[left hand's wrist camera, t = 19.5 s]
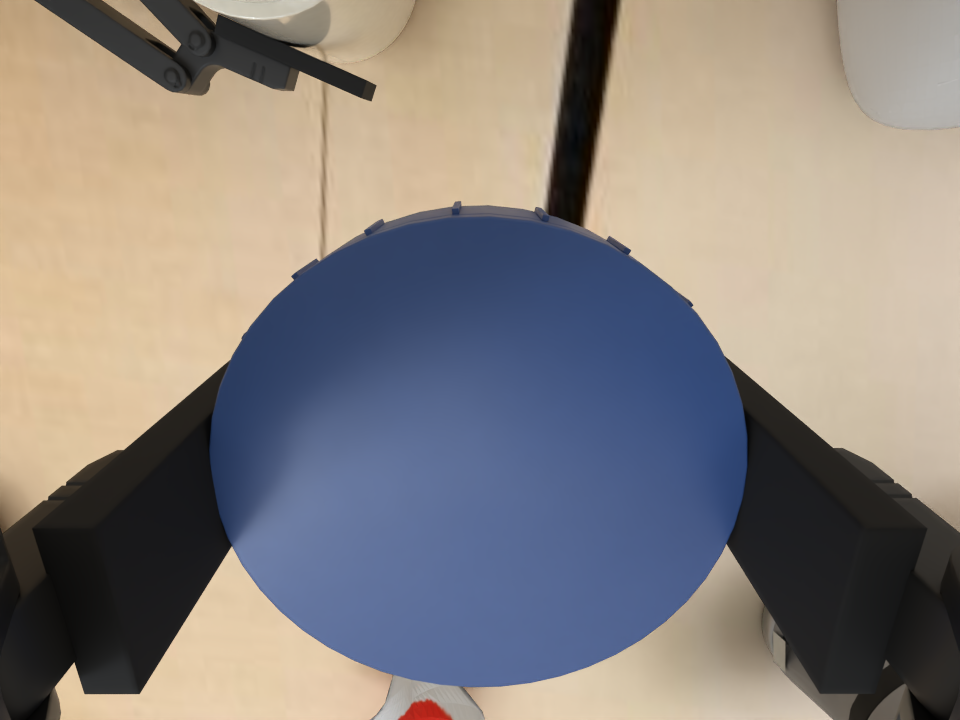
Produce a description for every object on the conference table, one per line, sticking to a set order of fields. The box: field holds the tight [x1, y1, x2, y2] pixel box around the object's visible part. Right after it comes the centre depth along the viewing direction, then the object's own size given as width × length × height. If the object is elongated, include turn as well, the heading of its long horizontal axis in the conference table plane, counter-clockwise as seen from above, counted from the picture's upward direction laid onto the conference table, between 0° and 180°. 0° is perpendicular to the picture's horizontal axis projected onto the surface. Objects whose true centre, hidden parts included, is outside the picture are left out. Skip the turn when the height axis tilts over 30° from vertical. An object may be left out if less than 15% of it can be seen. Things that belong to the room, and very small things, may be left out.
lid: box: [209, 201, 748, 687], centre depth 11 cm, size 10×10×2 cm
